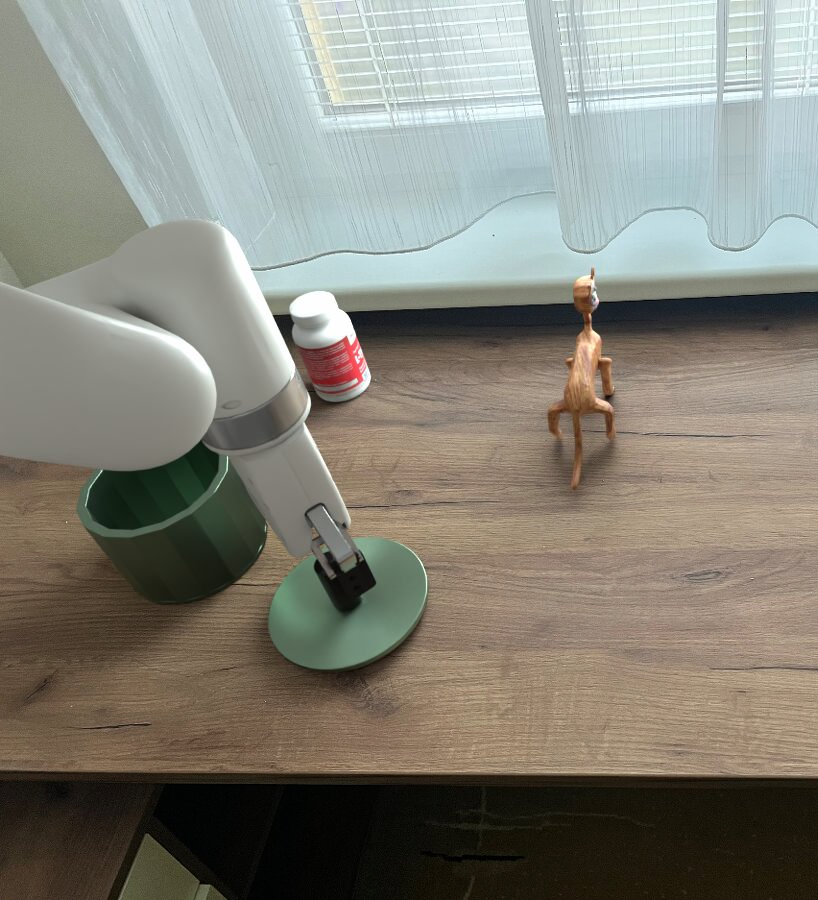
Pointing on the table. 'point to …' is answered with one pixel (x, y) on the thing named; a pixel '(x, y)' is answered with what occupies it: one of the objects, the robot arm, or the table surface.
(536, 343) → the table surface
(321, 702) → the table surface
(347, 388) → the pill bottle
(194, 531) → the tin
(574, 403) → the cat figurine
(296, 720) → the table surface
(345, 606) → the tin lid
